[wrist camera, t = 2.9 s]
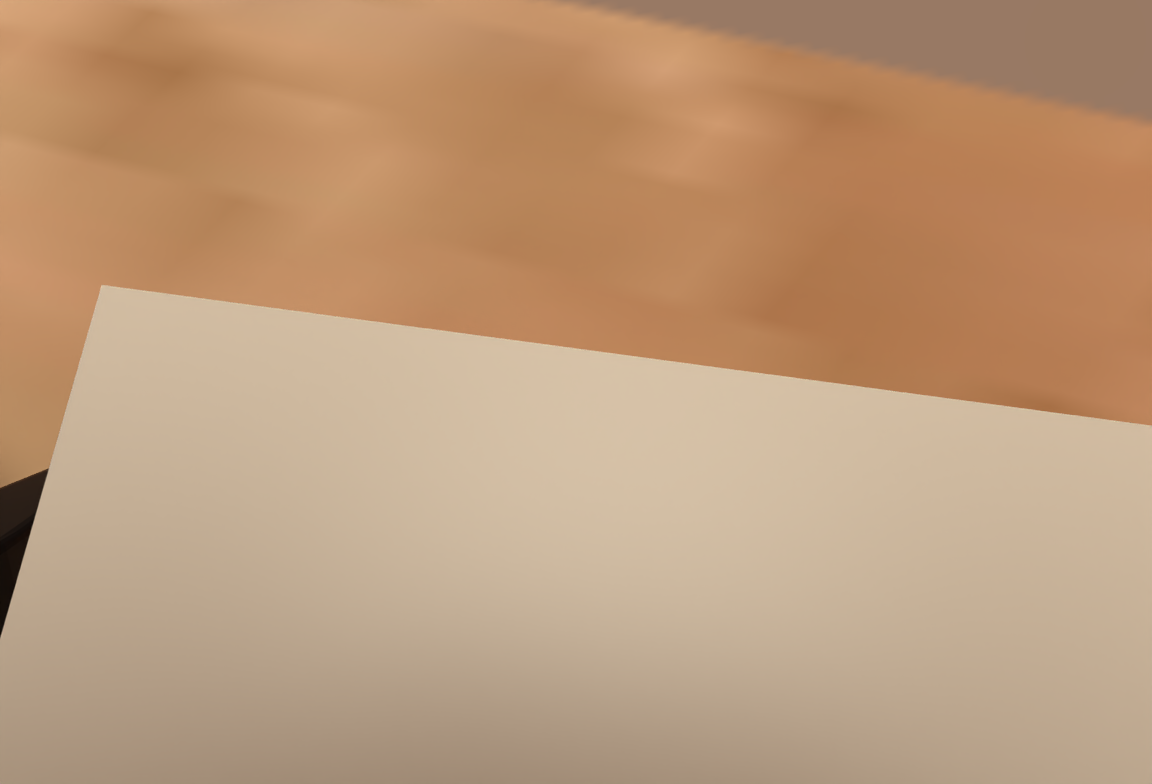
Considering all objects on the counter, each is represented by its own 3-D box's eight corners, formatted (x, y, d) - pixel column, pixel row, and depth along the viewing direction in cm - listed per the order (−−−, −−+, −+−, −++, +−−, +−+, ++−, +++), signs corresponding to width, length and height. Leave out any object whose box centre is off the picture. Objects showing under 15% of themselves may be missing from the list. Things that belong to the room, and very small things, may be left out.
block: (776, 802, 15) (1265, 1120, 4) (433, 745, 16) (-72, 882, 4) (794, 624, 16) (1254, 437, 4) (464, 574, 16) (102, 285, 5)
